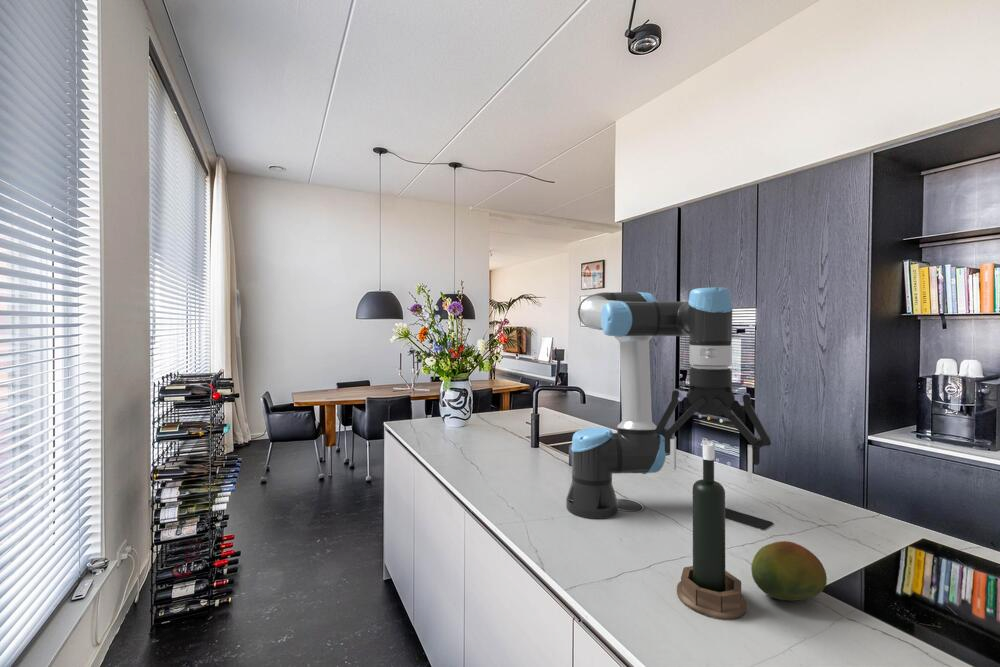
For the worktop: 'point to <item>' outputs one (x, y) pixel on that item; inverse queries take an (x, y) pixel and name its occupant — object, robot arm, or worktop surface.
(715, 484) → the wine bottle
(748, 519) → the smartphone
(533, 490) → the worktop surface
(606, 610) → the worktop surface
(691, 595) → the bowl
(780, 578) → the fruit
